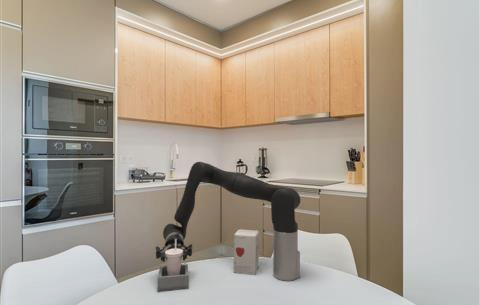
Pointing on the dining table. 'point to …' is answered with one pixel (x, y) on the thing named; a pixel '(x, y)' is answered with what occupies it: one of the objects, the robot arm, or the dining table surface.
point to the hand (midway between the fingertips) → (174, 258)
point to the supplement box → (246, 251)
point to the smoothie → (173, 260)
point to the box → (173, 279)
